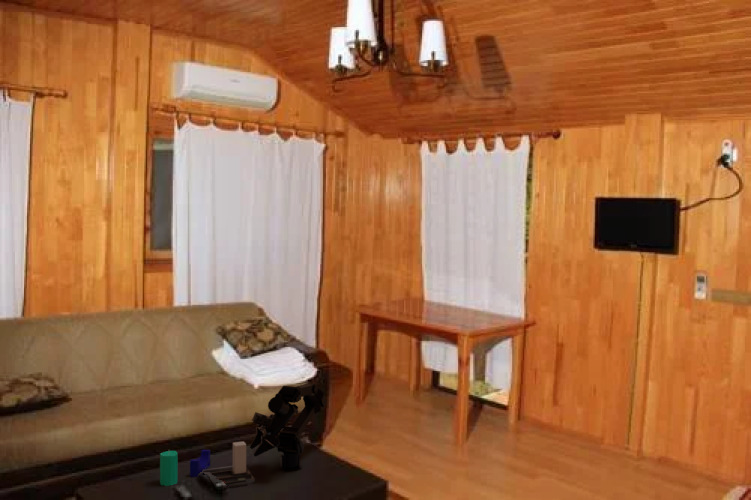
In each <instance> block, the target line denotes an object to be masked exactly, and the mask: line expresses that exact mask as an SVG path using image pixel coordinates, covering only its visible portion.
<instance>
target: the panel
mask: <svg viewBox="0 0 751 500" xmlns="http://www.w3.org/2000/svg"><path fill="white" fill-rule="evenodd" d="M232 470H233V469H232ZM246 471H247V472H248V474H243V475H236V476H233V475H232V473H231V470H224V471H217V472H210V473H211V474H212V475H214V476H216V477H218V478H216V479H219V480H222V481H223V482H224V483H225V484H226V485H227V486H226V487H229V484H234V483H240V482H248V484H251V483H253V484H254V483H255V477H254V476H253V474H252V473H251V472H250V470H249V468H248V469H247V467H246Z"/></svg>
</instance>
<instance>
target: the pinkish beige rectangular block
mask: <svg viewBox="0 0 751 500" xmlns="http://www.w3.org/2000/svg"><path fill="white" fill-rule="evenodd" d="M246 465H247V443H246V442H245V441H235V442H232V466H233V470H231V473H232V475H233V476H236V475H243V474H248V472H247V471H246Z"/></svg>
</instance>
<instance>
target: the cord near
mask: <svg viewBox="0 0 751 500" xmlns="http://www.w3.org/2000/svg"><path fill="white" fill-rule="evenodd" d="M248 484H249V483H248V482H240V483H234V484H229V486H228V488H236V487H238V488H239V487H243V486H248Z"/></svg>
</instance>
